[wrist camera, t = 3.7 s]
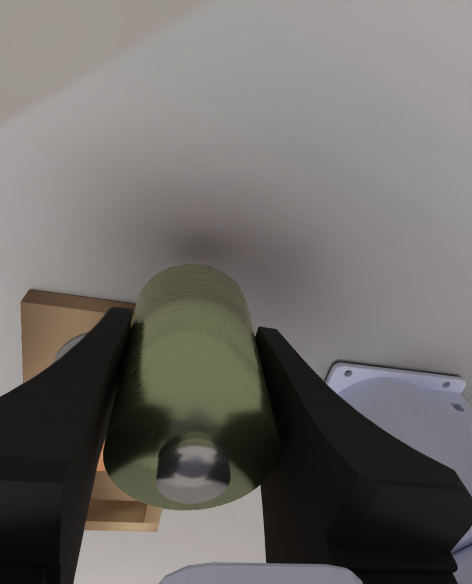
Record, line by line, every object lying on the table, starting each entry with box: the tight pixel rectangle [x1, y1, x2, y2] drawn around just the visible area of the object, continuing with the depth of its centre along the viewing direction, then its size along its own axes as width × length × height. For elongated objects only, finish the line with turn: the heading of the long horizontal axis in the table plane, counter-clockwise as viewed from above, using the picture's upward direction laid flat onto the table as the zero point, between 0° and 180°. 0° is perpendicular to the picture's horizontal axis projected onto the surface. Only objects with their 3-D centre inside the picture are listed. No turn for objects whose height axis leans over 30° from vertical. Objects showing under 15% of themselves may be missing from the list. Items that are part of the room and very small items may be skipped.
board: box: [21, 290, 162, 532], centre depth 24 cm, size 9×18×3 cm, turn 167°
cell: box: [103, 264, 280, 510], centre depth 11 cm, size 4×4×7 cm
